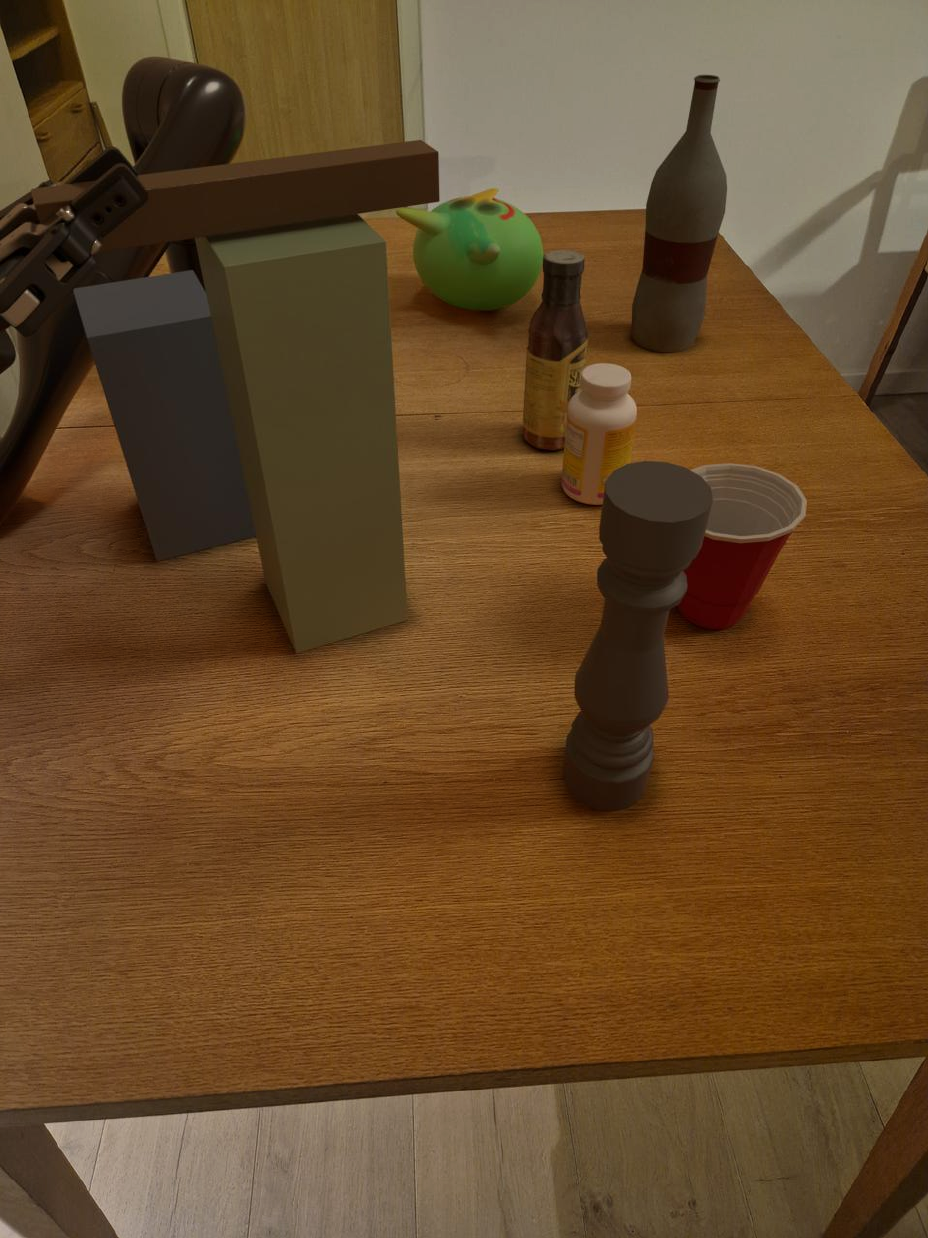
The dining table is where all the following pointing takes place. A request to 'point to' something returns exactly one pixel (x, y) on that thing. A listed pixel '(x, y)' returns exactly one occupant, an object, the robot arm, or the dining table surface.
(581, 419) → the supplement bottle
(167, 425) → the blue gray rectangular block
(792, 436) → the dining table surface
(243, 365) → the tall stand
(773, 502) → the plastic cup
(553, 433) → the sauce bottle
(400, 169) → the bar
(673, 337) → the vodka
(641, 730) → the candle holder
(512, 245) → the toy bird
